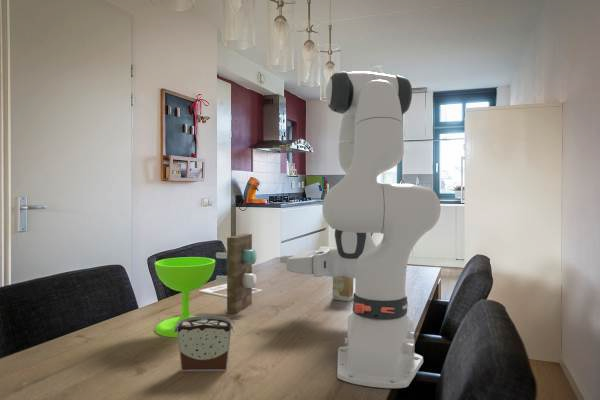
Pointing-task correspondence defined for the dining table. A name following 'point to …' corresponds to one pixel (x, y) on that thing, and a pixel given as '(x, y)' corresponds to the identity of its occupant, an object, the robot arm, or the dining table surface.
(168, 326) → the wineglass
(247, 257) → the knob upper
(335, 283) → the skincare box
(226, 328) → the food container
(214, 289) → the photo frame
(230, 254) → the block
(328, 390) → the dining table surface
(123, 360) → the dining table surface
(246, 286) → the knob lower
